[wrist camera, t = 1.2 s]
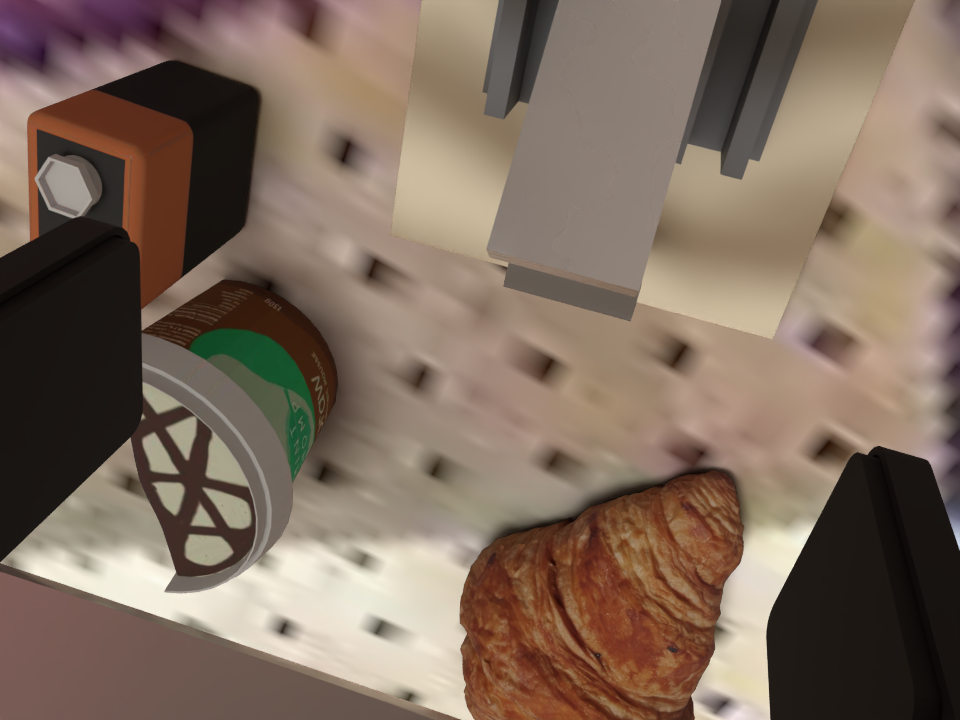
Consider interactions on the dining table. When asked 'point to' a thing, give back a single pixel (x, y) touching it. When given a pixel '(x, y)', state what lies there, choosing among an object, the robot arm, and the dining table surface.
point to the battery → (148, 165)
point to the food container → (228, 425)
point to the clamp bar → (602, 138)
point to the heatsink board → (701, 158)
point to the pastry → (603, 607)
